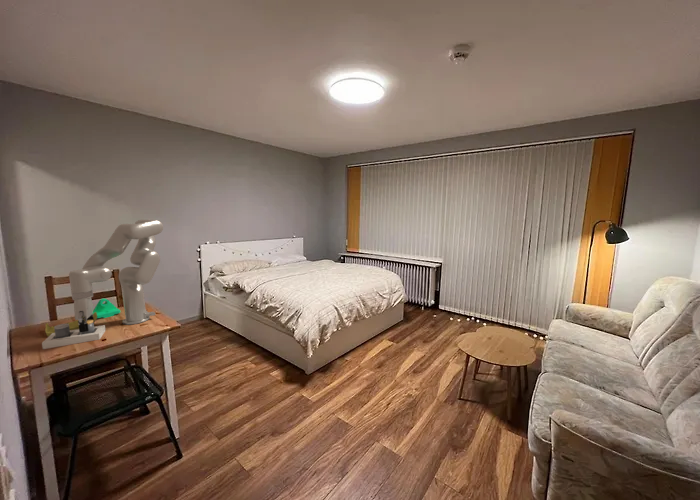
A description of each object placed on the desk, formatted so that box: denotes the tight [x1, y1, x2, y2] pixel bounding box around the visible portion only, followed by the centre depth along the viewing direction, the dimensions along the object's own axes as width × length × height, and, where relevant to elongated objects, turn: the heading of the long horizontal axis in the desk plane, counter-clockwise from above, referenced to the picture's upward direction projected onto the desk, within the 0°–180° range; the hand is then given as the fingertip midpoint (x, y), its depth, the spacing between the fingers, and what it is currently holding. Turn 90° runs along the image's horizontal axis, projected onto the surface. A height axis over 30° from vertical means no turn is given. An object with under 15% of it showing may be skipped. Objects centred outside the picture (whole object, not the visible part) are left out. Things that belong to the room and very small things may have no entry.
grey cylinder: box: [54, 322, 71, 339], centre depth 137 cm, size 5×5×8 cm
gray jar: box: [81, 320, 95, 335], centre depth 142 cm, size 5×5×8 cm
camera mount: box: [92, 298, 122, 319], centre depth 172 cm, size 12×8×10 cm, turn 145°
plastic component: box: [44, 312, 98, 337], centre depth 152 cm, size 20×7×10 cm
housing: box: [41, 324, 106, 350], centre depth 140 cm, size 20×12×4 cm, turn 120°
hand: (87, 328), depth 142 cm, fingers open, 9 cm apart
